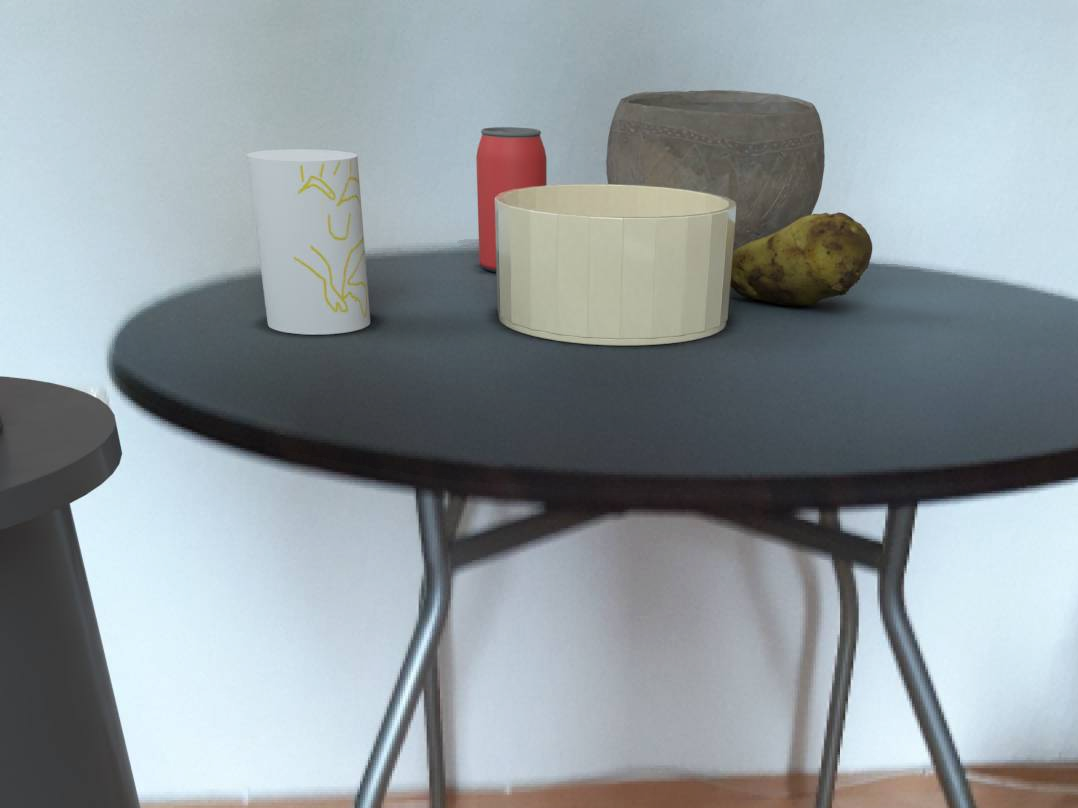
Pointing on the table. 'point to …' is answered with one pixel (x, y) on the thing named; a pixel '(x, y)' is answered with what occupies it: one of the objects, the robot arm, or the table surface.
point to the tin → (614, 263)
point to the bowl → (723, 152)
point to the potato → (803, 261)
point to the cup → (310, 240)
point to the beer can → (504, 176)
